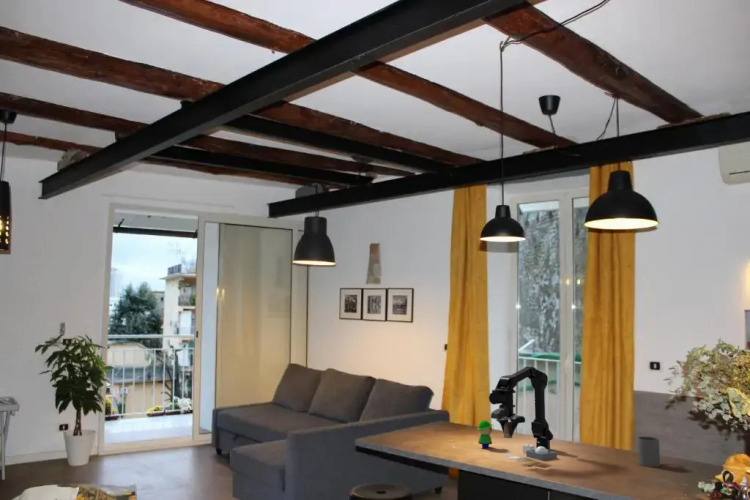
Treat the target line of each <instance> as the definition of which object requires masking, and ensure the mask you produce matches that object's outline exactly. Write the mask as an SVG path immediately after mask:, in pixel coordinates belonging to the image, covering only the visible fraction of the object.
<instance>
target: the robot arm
mask: <svg viewBox="0 0 750 500" xmlns="http://www.w3.org/2000/svg"><path fill="white" fill-rule="evenodd" d="M527 378H528V379H529V380H530V384H531V386H532V388H533V390H534V391H533V392H534V419H533V421H531V423H530V426H531V427H530V430H531V433H532V437H533V438H534V439H536V441H535V443H536V444H535V445H536V447H535V449H537V448H538V447H539V446H542V447H545V448H546V449H547V450H549V451H550V449H551V445H550V444H551V441H553V439H554V434H553V433H552V431H551V430H550V425H549V422H548V420H547V419H546V407H545V405H546V404H545V403H546V402H545V399H546V398H545V391H546V390H545V389H546V388H547V386H548V381H549V377H548V374H547V373H545V372H543V371H542V370H539V369H537V368H536V367H534V366H525V367H524V368H522V369H520V370H518V371H517V372H514V373H512V374H508V375H506V374H505V375H502V376H500V377H499V380H498V381H497V384H496V386H495V388H494V389H492V390H491V393H489V395H488V400H489V403H490V404H491V405H498V408H497V409H495V410H493V411H491V413H490V419H494V420H495V421H497V422H498V423H499V424H500V427H501V430H502V433H503V434H504V425H505V424H506V423H508V425H509V432H510V436H512V437H513V435H514V433H515V431H516V429H517V427H518V425H519V424H523V423H526V418H525V415H524V416H523V415H516V413H514V408H516V404H514V394H516V393H517V391H516V390H515V389H514V388H516V387H517V386H518V383H520V382H521V381H523V380H526V379H527Z"/></svg>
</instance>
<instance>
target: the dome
mask: <svg viewBox="0 0 750 500" xmlns="http://www.w3.org/2000/svg"><path fill="white" fill-rule="evenodd" d="M534 450H535V452H537V453H541V454H543V453H548V450H547V449H546V448H545V447H542V446H539V447H538V448H537V449H536V448H534Z"/></svg>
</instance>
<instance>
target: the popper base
mask: <svg viewBox="0 0 750 500" xmlns="http://www.w3.org/2000/svg"><path fill="white" fill-rule="evenodd" d="M557 455H558V452H557V451H553V450H550V449H549V450H548V453H543V454H541V453H537V452H535V449H534V450H528V451H526V454H525V456H526V457H527V458H530V459H534V460H537V461H541V462H542V461H548V460H554V459H555V460H556V459H558V456H557Z"/></svg>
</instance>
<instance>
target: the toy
mask: <svg viewBox="0 0 750 500" xmlns="http://www.w3.org/2000/svg"><path fill="white" fill-rule="evenodd" d="M494 428H495V427H494V424H491V423H490V422H489V421H488V420H481V421H480V422H479V424H478V427H477V428H476V430H479V432H480V435H479V438H478V442H477V443H478V444H480V445H481V448H482V449H484V450H488V449H489V448H490V445H492V444H493V441H492V437H491V433H492V432H493V431H494Z"/></svg>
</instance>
